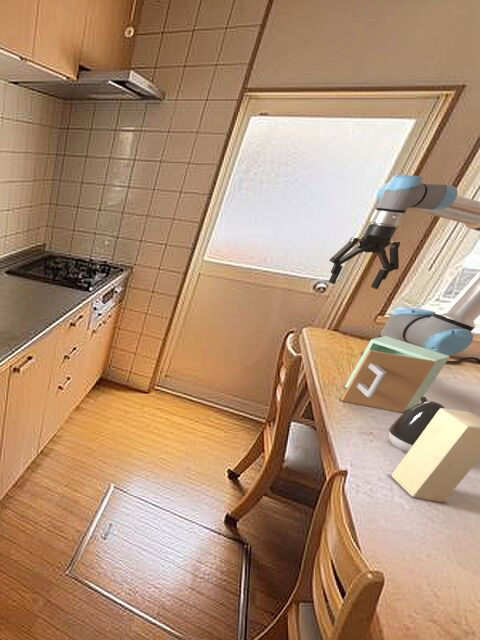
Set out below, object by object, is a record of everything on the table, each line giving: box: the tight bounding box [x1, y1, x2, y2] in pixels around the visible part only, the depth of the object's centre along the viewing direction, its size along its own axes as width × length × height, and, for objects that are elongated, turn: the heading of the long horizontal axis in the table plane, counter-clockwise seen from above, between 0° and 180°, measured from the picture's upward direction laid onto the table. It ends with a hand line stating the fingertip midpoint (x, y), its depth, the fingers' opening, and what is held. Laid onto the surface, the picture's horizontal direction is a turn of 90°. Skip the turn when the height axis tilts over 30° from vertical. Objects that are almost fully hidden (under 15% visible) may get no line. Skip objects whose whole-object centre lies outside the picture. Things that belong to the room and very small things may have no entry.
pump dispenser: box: [388, 396, 446, 453], centre depth 116 cm, size 10×10×15 cm
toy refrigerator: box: [390, 408, 480, 503], centre depth 98 cm, size 8×7×21 cm
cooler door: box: [340, 350, 436, 413], centre depth 133 cm, size 8×17×19 cm, turn 71°
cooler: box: [344, 336, 451, 412], centre depth 143 cm, size 10×17×19 cm, turn 25°
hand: (352, 285), depth 153 cm, fingers open, 13 cm apart
